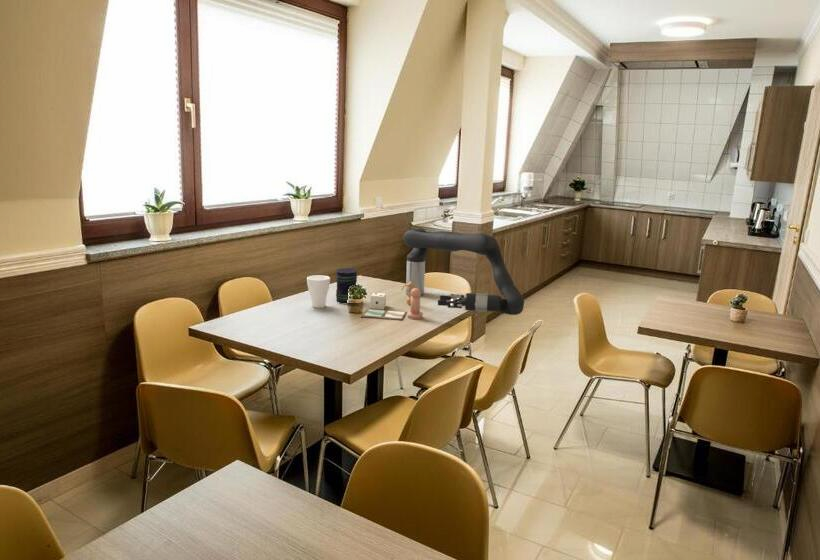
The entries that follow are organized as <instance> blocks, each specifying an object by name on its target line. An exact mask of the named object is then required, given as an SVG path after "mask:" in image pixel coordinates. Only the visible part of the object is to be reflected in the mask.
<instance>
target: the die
mask: <svg viewBox="0 0 820 560" xmlns="http://www.w3.org/2000/svg"><path fill="white" fill-rule="evenodd" d="M386 304H387V293H381V292H373V293H372V294H371V295H370V304H369V305H370V307H369V308H370V309H373V310H385V308H386V307H387V305H386Z"/></svg>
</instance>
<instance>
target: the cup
mask: <svg viewBox="0 0 820 560" xmlns="http://www.w3.org/2000/svg"><path fill="white" fill-rule="evenodd" d="M330 282H331V277H329V276H328V275H322V274H321V275H319V274H317V275H316V274H315V275H309V276H307V277H306V284H307V289H308V292H309V296H310V300H311V301H310V302H311V306H312V308H314V307H315V309H322V308H325V307H326V301H327V296H328V292H329V289H330V284H331V283H330Z"/></svg>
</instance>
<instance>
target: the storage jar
mask: <svg viewBox="0 0 820 560" xmlns="http://www.w3.org/2000/svg"><path fill="white" fill-rule="evenodd" d="M335 272H336V273H335V274H336V275H335V280H336V281H335V282H336V291H335V297H336V299H335V302H336V301H337V302H336V303H338V302H339V303H338V304H342V303H347V300H348V289H349V287H350V286H352V285H356V286H357V278H358V276H357V275H358V274H357V273H358V271H357V269H356V268H354V269H353V268H339V269H336V271H335Z"/></svg>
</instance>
